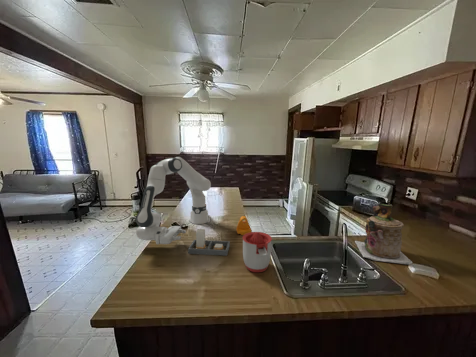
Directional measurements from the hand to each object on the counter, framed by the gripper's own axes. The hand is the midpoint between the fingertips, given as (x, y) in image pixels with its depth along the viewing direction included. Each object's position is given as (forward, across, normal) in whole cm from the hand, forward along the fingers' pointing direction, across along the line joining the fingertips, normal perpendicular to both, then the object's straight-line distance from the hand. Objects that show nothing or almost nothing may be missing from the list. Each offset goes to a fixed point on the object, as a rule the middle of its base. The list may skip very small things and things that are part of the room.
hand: (183, 234), depth 135 cm
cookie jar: (+123, -6, -9) cm, 124 cm away
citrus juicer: (+47, +18, -9) cm, 51 cm away
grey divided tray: (+17, 0, -9) cm, 19 cm away
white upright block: (+11, 0, -9) cm, 14 cm away
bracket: (+37, -28, -9) cm, 48 cm away
